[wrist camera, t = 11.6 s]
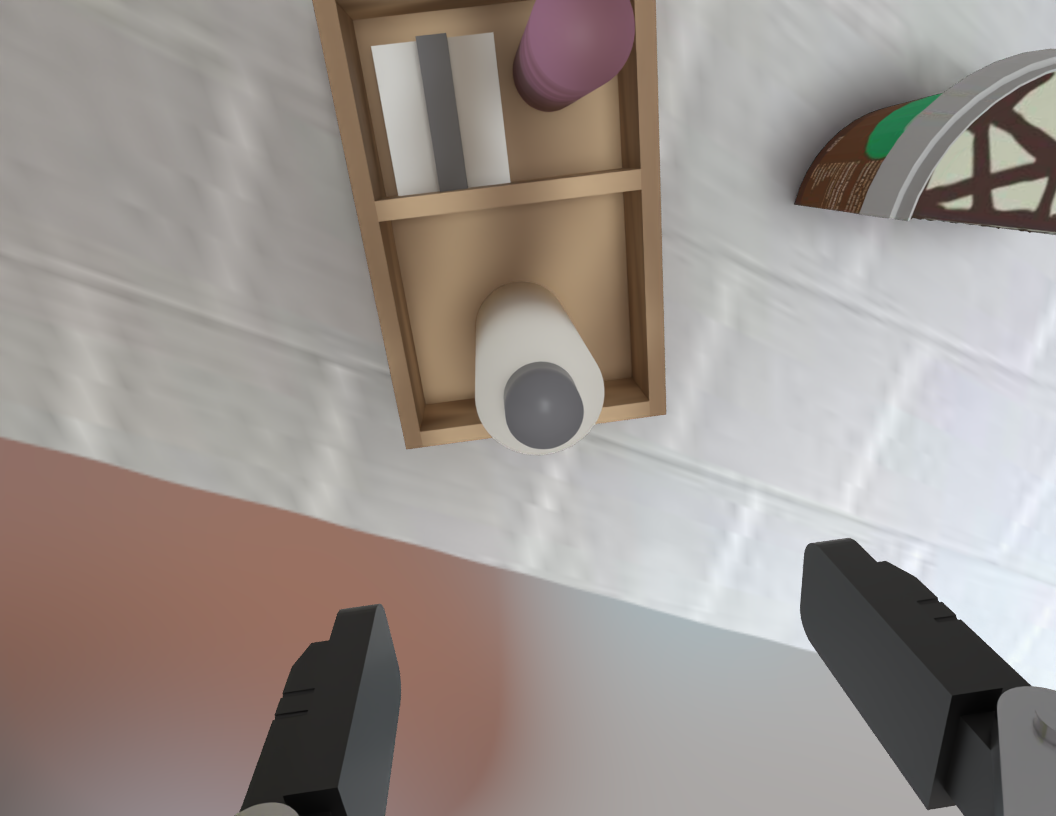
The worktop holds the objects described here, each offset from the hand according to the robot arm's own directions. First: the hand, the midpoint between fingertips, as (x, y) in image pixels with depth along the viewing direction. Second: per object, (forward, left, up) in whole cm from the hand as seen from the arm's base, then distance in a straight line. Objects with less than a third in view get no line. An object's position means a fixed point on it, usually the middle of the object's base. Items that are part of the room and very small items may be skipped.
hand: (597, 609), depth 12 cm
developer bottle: (0, 0, -21) cm, 21 cm away
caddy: (0, +5, -22) cm, 22 cm away
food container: (+20, +6, -22) cm, 30 cm away
